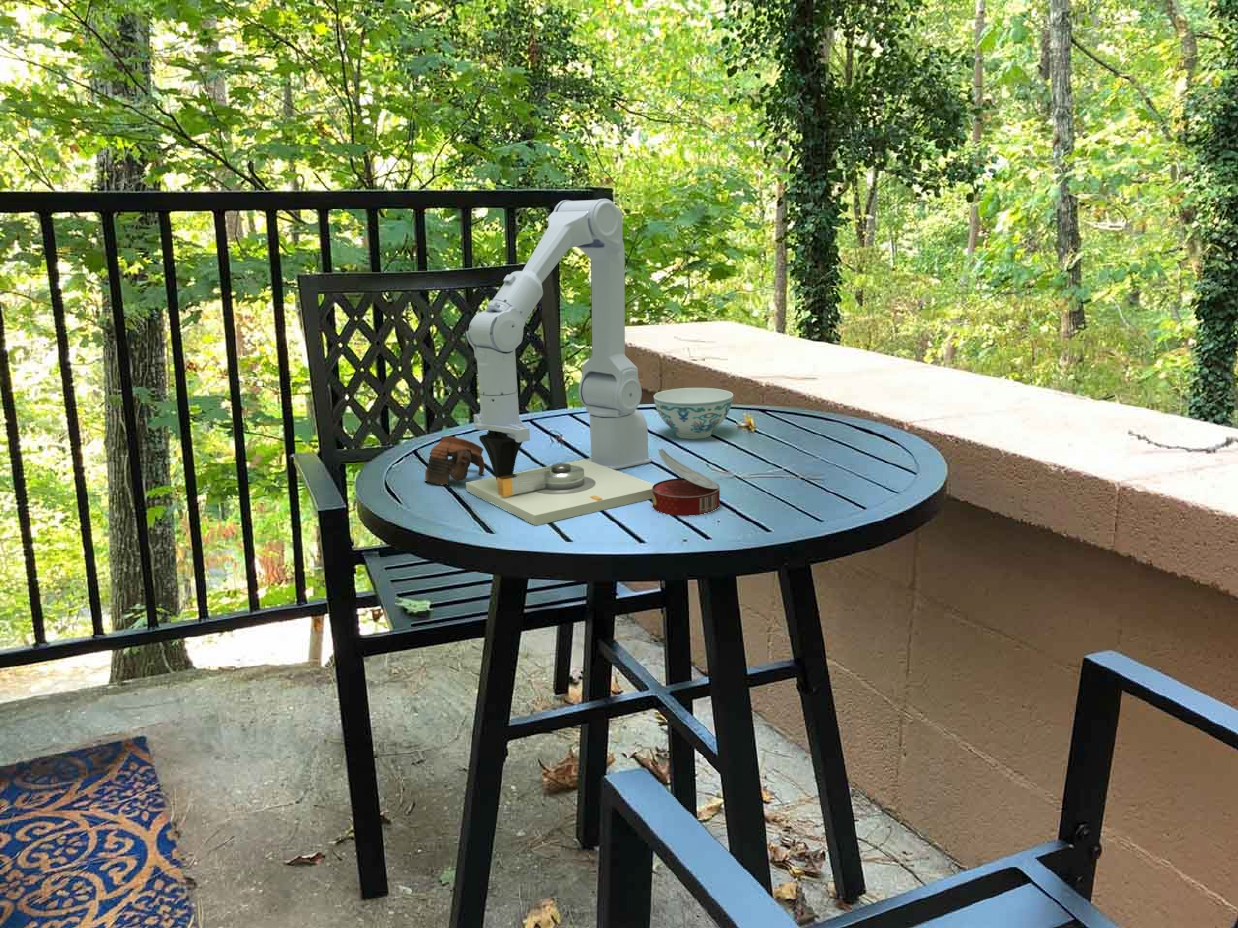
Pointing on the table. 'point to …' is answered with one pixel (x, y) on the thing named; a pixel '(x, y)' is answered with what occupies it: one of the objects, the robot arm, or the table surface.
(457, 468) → the brown ridged arch
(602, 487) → the panel
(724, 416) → the chinaware
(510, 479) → the dial
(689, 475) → the canned food
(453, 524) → the table surface
